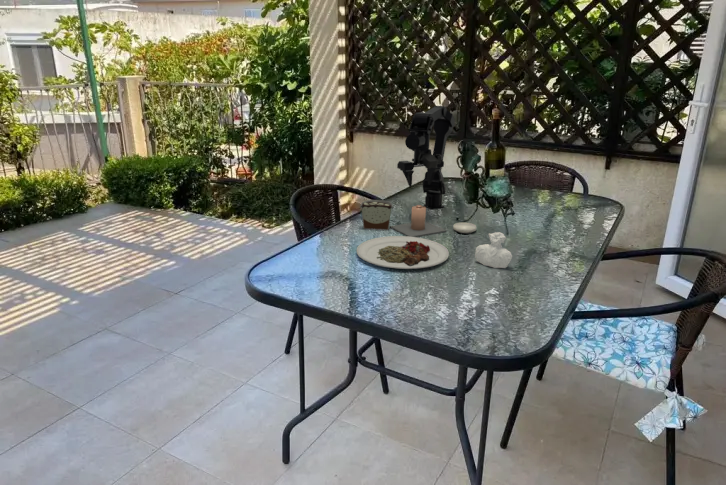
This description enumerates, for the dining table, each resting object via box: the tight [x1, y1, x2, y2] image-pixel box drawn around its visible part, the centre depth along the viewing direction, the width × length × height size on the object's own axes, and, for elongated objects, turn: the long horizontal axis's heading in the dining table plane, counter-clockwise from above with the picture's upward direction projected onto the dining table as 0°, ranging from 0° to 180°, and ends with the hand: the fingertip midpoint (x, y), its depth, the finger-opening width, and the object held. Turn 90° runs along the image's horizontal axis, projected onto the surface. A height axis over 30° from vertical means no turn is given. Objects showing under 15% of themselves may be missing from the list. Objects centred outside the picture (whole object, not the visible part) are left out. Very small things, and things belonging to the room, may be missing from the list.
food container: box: [359, 199, 394, 231], centre depth 200 cm, size 12×6×10 cm, turn 84°
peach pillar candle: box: [410, 204, 427, 230], centre depth 197 cm, size 5×5×9 cm
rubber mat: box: [389, 220, 447, 238], centre depth 199 cm, size 16×14×1 cm
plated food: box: [356, 235, 450, 270], centre depth 173 cm, size 30×30×3 cm
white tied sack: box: [474, 231, 513, 269], centre depth 166 cm, size 12×8×11 cm
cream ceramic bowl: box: [452, 221, 477, 234], centre depth 198 cm, size 8×8×2 cm
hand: (419, 185), depth 211 cm, fingers open, 9 cm apart
